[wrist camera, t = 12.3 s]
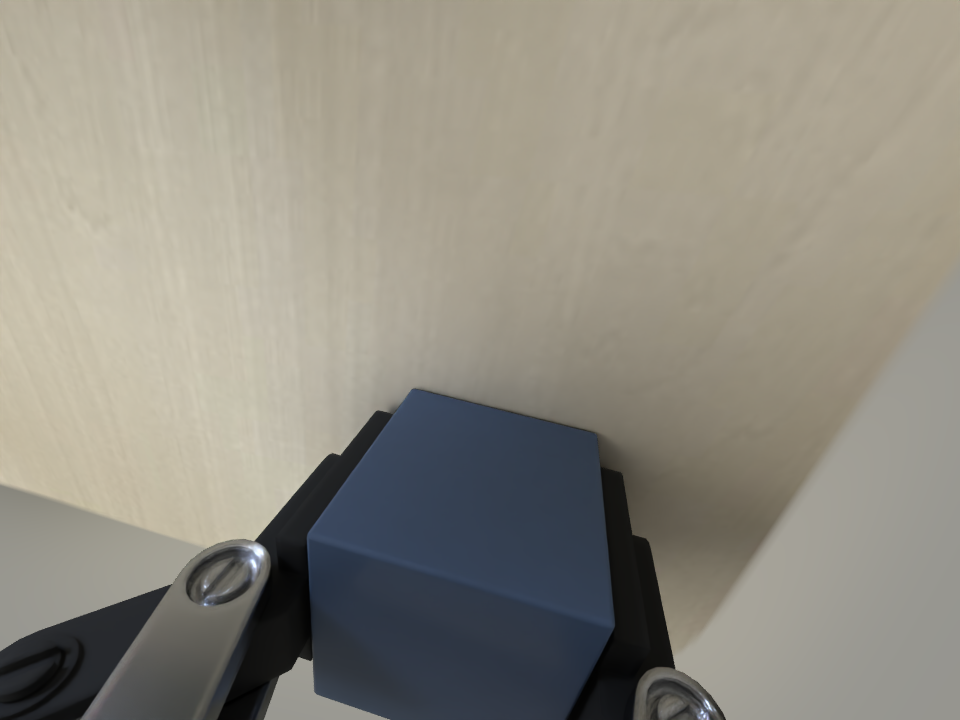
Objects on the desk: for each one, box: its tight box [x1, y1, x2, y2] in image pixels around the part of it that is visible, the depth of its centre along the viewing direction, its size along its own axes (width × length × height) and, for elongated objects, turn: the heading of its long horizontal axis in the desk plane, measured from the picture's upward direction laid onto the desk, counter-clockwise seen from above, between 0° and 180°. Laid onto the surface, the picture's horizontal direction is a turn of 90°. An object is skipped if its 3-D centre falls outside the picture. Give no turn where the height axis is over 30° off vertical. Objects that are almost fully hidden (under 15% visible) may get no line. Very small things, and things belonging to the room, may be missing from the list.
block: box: [307, 389, 615, 720], centre depth 8 cm, size 4×4×4 cm
